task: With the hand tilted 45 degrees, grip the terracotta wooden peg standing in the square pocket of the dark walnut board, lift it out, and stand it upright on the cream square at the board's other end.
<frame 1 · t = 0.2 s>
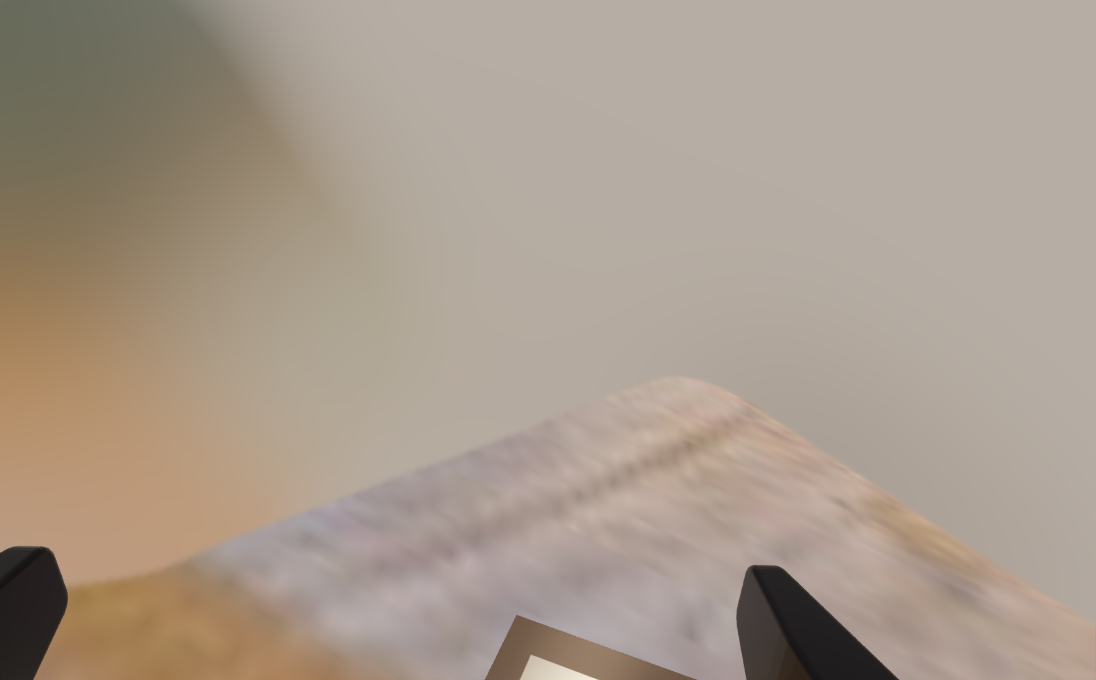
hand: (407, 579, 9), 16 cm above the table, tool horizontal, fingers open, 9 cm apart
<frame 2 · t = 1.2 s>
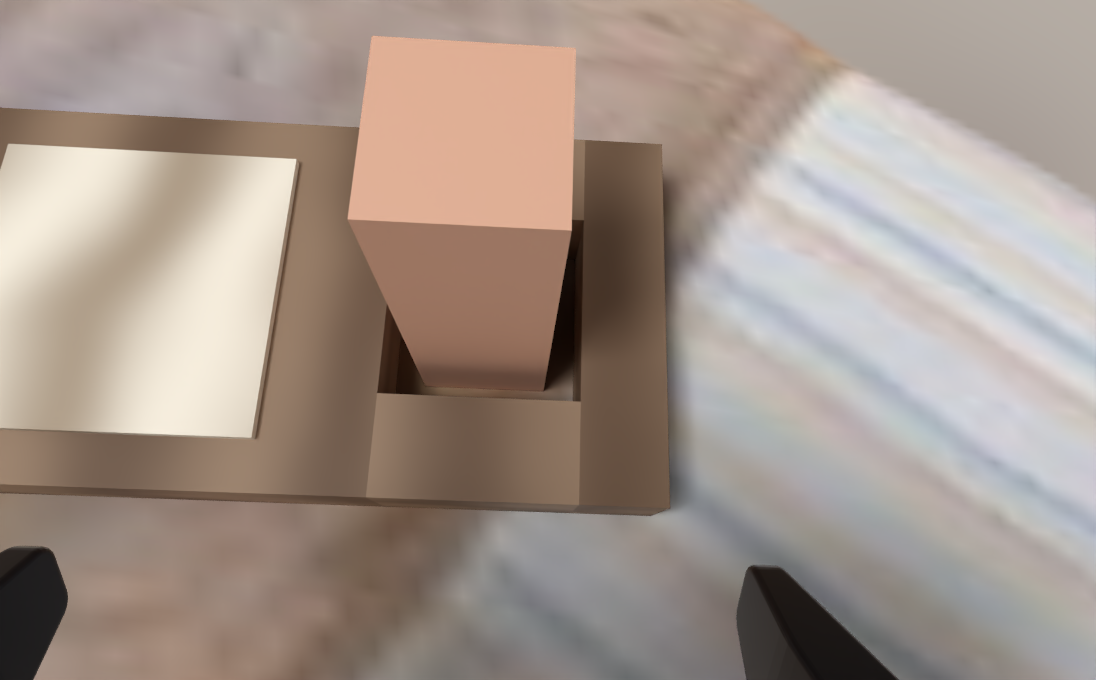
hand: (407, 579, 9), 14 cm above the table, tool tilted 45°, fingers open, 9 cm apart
terracotta peg: (488, 333, 25), resting in walnut pocket board
walnut pocket board: (332, 326, 24), on the table
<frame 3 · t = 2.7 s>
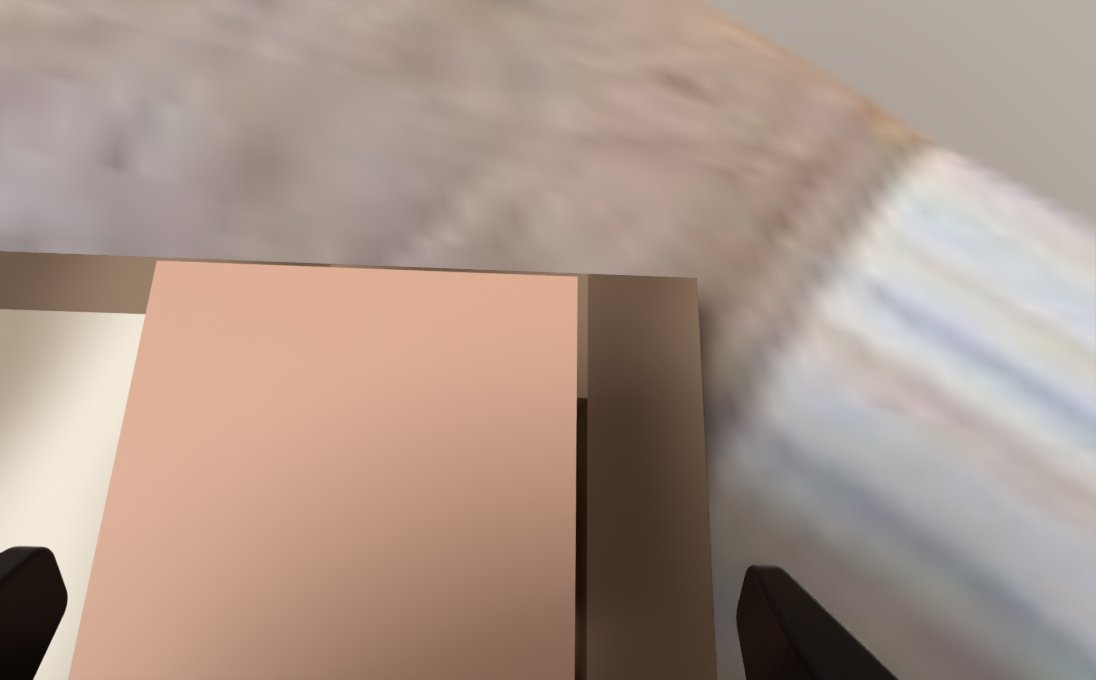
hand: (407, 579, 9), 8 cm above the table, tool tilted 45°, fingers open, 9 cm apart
terracotta peg: (453, 539, 18), resting in walnut pocket board
walnut pocket board: (232, 535, 17), on the table
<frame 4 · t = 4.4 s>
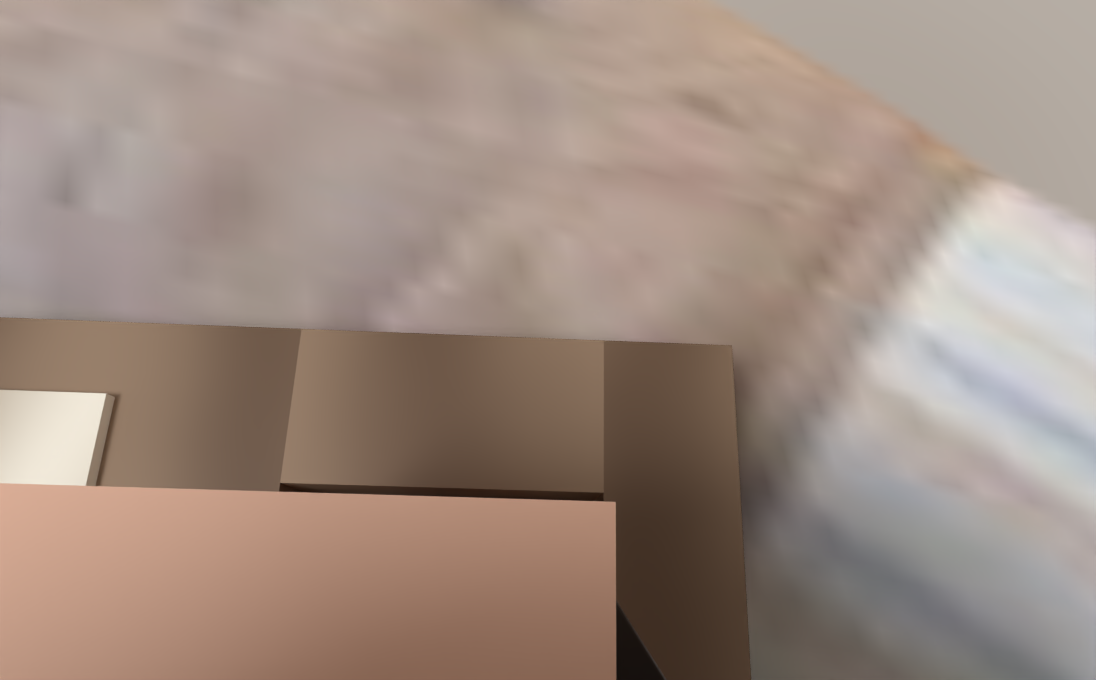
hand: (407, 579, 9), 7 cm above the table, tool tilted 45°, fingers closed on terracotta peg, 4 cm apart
terracotta peg: (446, 643, 15), resting in walnut pocket board, touching gripper
walnut pocket board: (189, 639, 15), on the table
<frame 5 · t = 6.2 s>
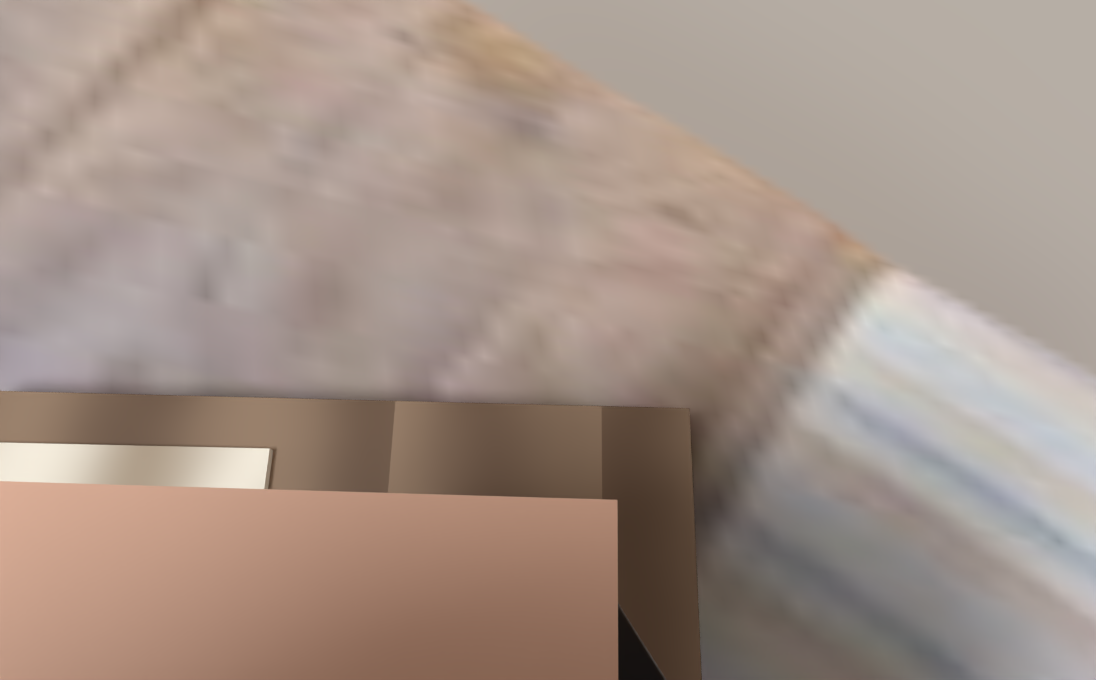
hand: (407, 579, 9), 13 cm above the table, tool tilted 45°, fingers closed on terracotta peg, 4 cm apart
terracotta peg: (446, 643, 15), point 7 cm above the table, touching gripper
walnut pocket board: (315, 614, 21), on the table
when the fingers open (11 cm above the table, at t = 8.3 s): terracotta peg drops 1 cm, resting on walnut pocket board.
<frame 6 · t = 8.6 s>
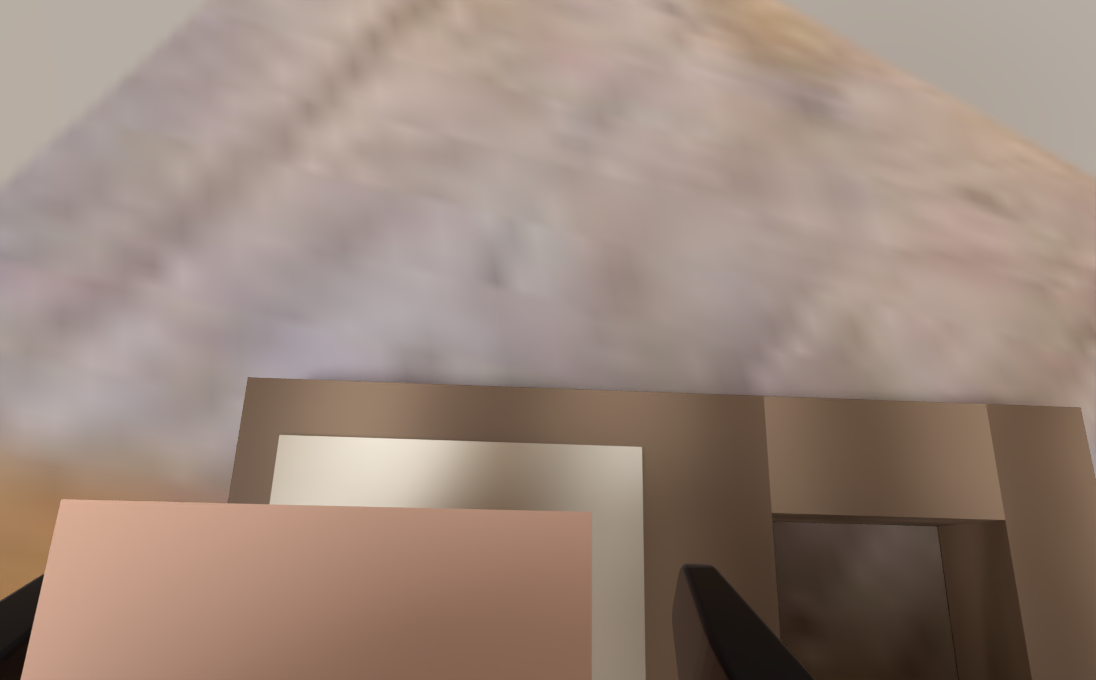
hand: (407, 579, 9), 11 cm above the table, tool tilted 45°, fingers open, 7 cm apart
terracotta peg: (449, 637, 16), point 3 cm above the table, touching walnut pocket board
walnut pocket board: (656, 629, 20), on the table
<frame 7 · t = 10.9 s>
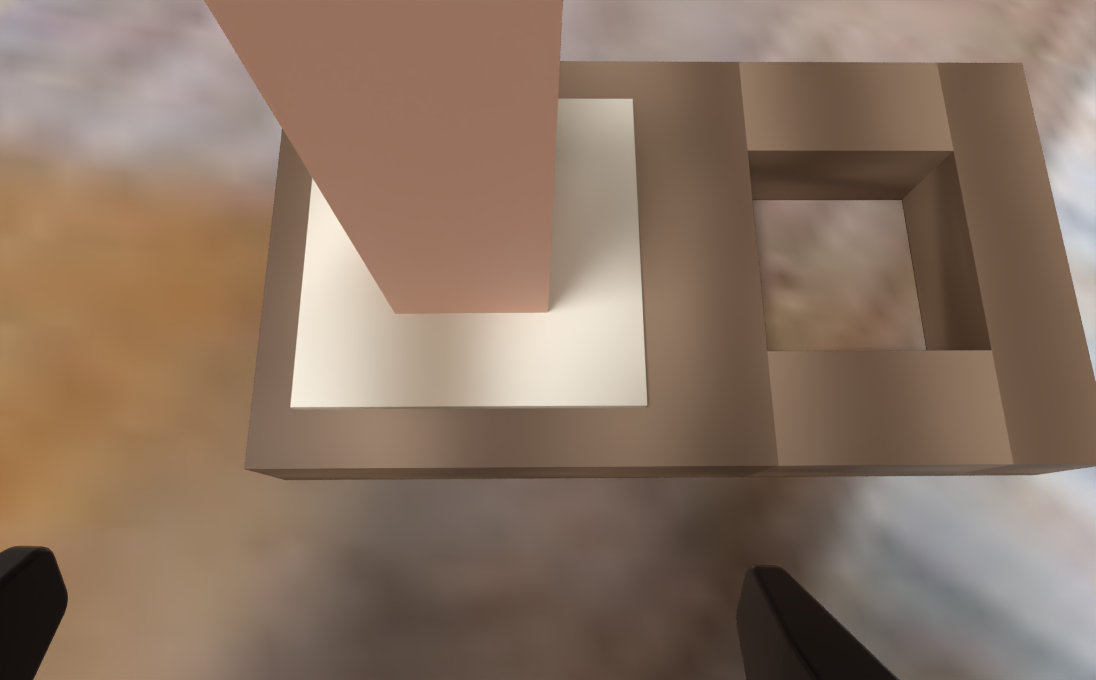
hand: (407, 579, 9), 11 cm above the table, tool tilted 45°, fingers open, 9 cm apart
terracotta peg: (472, 242, 19), point 3 cm above the table, touching walnut pocket board
walnut pocket board: (653, 285, 22), on the table
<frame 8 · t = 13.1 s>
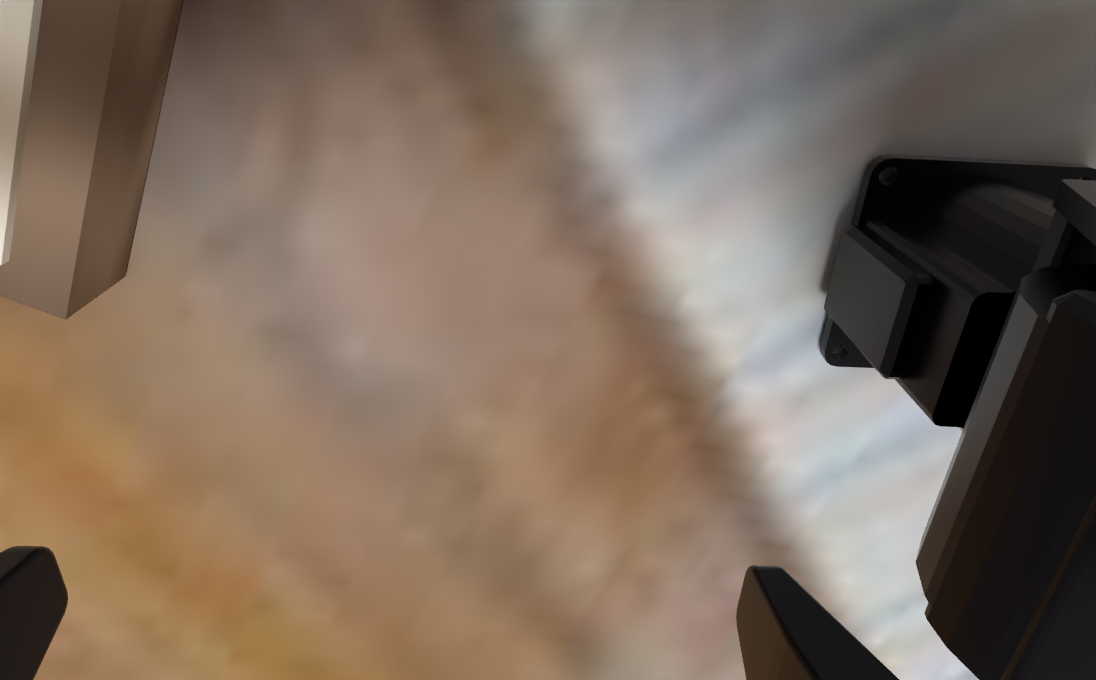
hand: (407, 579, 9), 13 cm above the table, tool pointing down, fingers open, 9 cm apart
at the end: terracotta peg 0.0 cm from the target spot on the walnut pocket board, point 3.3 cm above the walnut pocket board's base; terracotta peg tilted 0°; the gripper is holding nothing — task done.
